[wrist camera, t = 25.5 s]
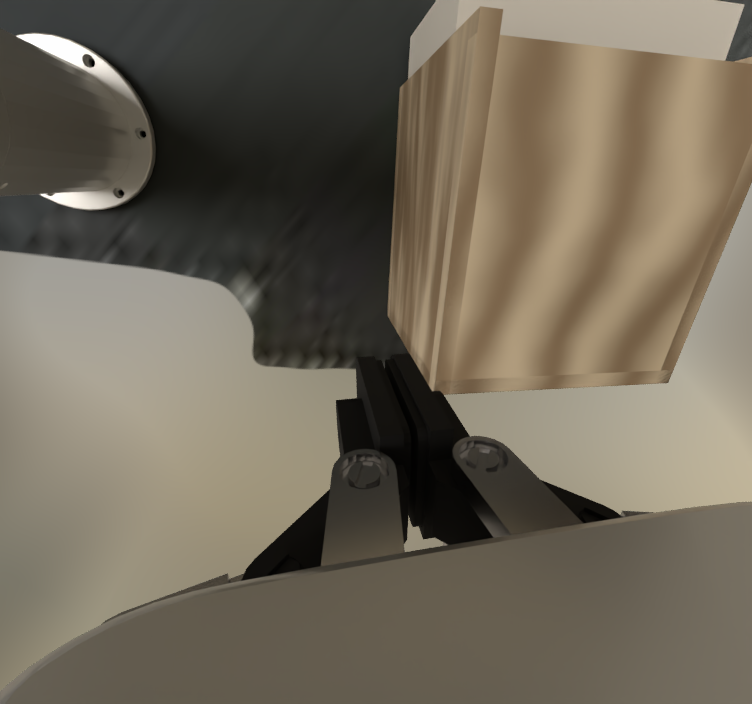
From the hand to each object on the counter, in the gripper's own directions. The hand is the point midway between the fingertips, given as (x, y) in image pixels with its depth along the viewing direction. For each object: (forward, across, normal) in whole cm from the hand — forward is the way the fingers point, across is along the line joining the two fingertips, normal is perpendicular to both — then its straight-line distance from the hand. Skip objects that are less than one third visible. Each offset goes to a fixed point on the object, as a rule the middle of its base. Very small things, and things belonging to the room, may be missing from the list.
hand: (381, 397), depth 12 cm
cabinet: (+30, -17, -2) cm, 35 cm away
